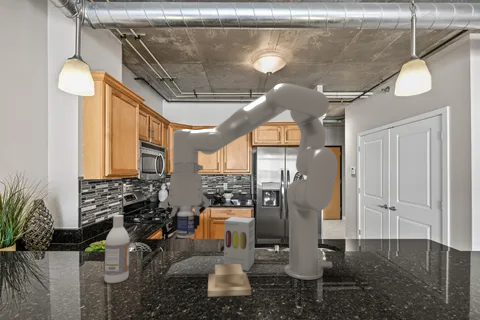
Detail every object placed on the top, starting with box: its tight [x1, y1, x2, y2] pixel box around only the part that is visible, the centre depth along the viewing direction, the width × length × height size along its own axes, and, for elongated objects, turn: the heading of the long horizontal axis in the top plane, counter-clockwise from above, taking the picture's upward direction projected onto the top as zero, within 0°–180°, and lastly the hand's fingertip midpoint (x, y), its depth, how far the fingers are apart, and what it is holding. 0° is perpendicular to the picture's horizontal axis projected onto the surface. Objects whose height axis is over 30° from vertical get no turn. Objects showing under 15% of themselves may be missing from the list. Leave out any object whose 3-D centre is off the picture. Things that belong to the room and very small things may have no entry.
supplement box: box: [223, 216, 256, 272], centre depth 94 cm, size 10×9×17 cm
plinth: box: [207, 263, 252, 298], centre depth 76 cm, size 12×12×5 cm
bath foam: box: [103, 214, 131, 284], centre depth 81 cm, size 7×7×20 cm
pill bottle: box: [176, 206, 196, 239], centre depth 78 cm, size 5×5×10 cm
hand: (186, 227), depth 78 cm, fingers closed on pill bottle, 5 cm apart
